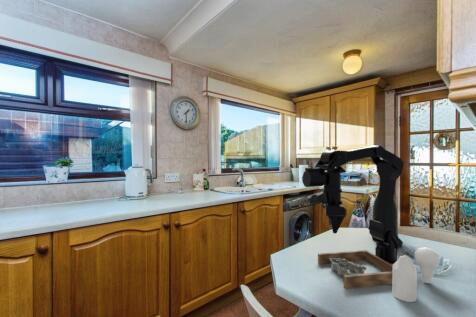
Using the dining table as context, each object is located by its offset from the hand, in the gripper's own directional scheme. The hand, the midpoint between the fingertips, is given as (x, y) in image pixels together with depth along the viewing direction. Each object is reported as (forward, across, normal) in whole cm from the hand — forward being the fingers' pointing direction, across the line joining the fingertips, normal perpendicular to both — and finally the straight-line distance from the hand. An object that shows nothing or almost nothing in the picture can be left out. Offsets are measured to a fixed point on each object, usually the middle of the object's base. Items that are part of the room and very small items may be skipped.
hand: (332, 228), depth 83 cm
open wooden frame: (+14, +2, +7) cm, 16 cm away
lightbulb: (+14, +4, +27) cm, 31 cm away
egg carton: (+14, +4, +4) cm, 15 cm away
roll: (+14, +14, +17) cm, 26 cm away
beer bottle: (+15, -33, +27) cm, 45 cm away
